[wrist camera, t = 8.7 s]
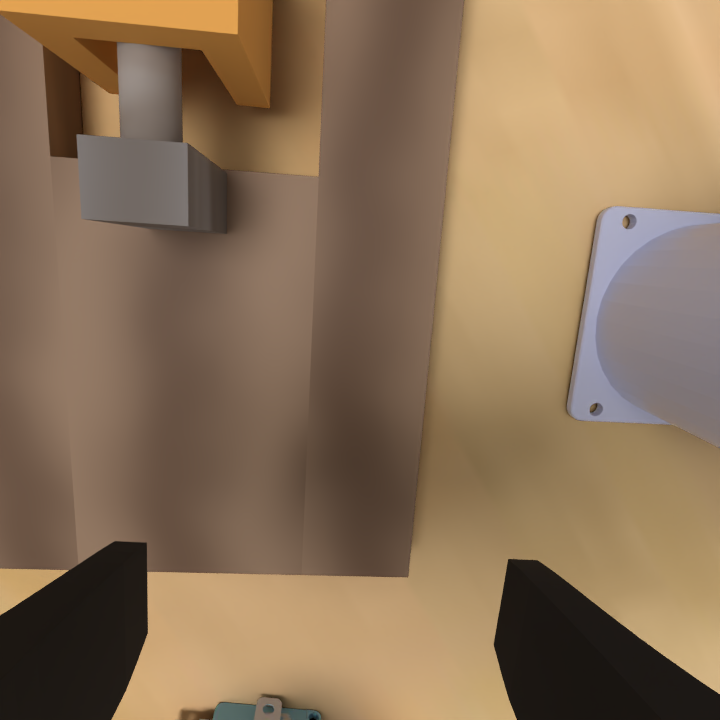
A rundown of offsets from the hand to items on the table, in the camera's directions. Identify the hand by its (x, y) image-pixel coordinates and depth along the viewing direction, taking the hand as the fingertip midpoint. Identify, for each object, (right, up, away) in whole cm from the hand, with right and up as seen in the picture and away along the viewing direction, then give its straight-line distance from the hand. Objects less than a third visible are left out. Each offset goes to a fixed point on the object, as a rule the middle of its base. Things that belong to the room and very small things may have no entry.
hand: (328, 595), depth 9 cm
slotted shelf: (-5, +9, +7) cm, 13 cm away
